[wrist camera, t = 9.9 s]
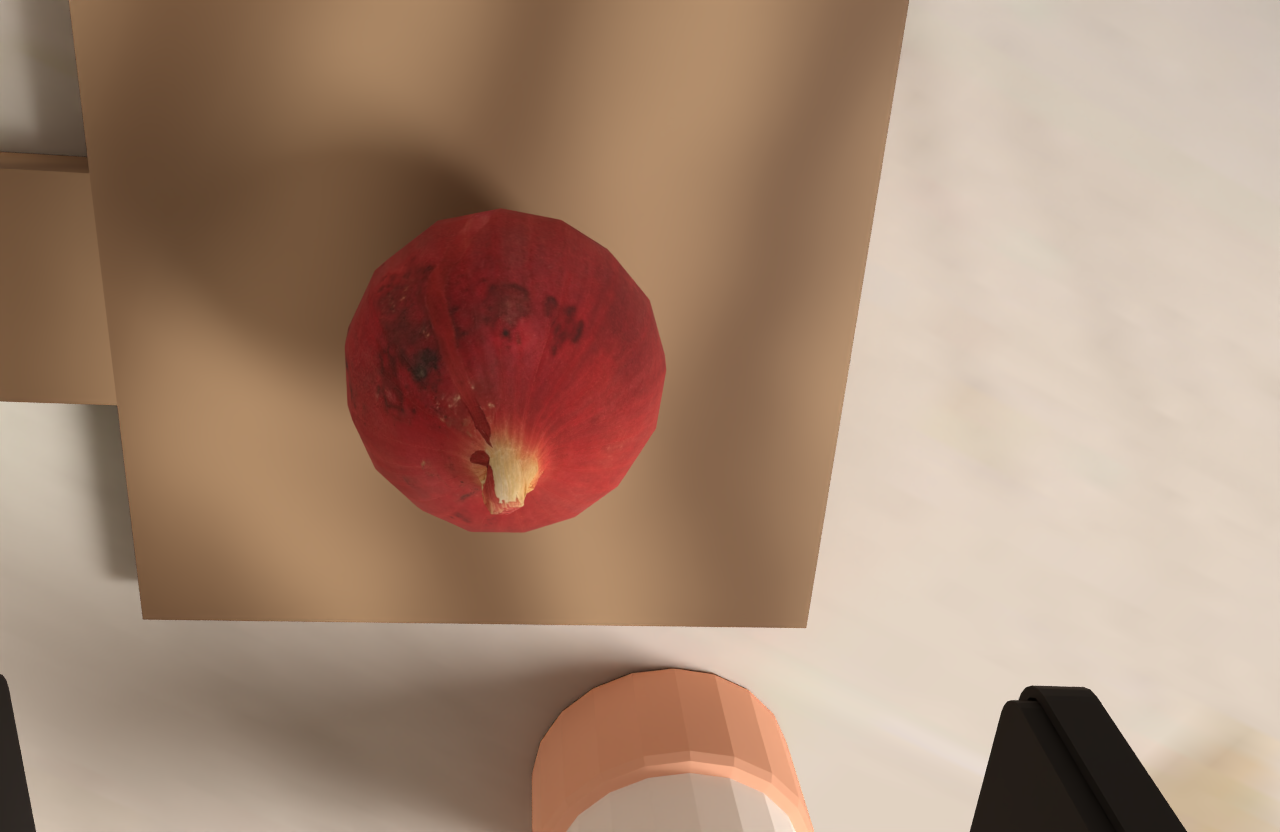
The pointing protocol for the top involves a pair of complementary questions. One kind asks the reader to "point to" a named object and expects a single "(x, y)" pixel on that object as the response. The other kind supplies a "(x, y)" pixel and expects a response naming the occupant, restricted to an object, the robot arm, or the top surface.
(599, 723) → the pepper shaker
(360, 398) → the onion
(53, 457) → the top surface
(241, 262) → the board
